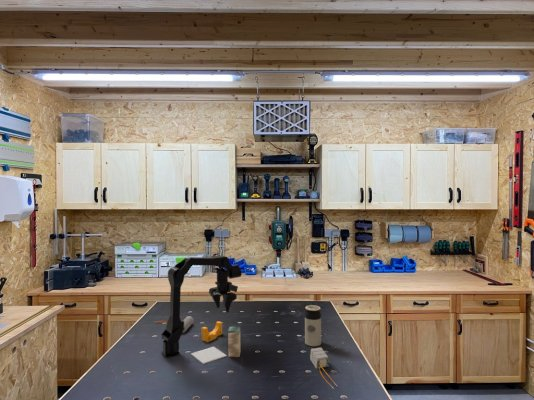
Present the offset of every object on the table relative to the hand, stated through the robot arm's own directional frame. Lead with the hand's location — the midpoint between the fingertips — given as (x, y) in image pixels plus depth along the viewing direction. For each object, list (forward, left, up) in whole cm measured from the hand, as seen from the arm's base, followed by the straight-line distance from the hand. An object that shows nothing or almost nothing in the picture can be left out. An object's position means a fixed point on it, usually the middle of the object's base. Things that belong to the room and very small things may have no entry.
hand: (222, 310), depth 179 cm
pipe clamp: (-3, +4, -15) cm, 16 cm away
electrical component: (+15, -58, -15) cm, 61 cm away
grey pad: (-15, -13, -15) cm, 25 cm away
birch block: (-5, -19, -15) cm, 25 cm away
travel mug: (+32, -34, -15) cm, 49 cm away
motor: (-16, +31, -15) cm, 38 cm away
